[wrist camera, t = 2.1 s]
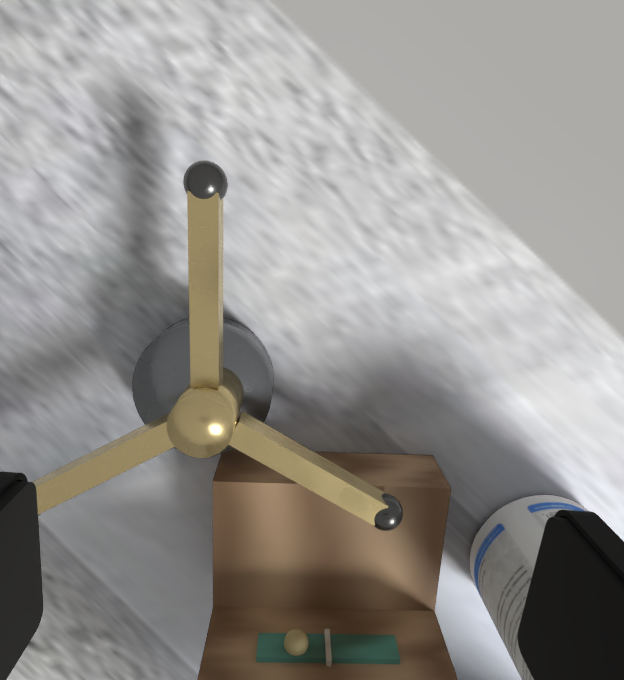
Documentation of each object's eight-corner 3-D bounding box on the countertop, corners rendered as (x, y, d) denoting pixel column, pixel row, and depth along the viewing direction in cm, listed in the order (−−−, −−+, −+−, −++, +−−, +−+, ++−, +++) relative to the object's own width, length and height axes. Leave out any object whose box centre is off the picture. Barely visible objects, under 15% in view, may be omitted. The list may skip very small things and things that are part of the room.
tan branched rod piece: (413, 180, 28) (453, 169, 21) (384, 478, 32) (408, 551, 25) (26, 160, 27) (-71, 141, 20) (56, 468, 32) (-14, 541, 25)
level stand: (432, 455, 32) (482, 544, 24) (417, 580, 35) (456, 702, 26) (223, 448, 32) (194, 537, 23) (222, 576, 34) (197, 699, 26)
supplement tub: (510, 624, 36) (646, 890, 22) (439, 539, 34) (539, 772, 20) (623, 554, 35) (846, 789, 21) (556, 461, 33) (754, 652, 19)
